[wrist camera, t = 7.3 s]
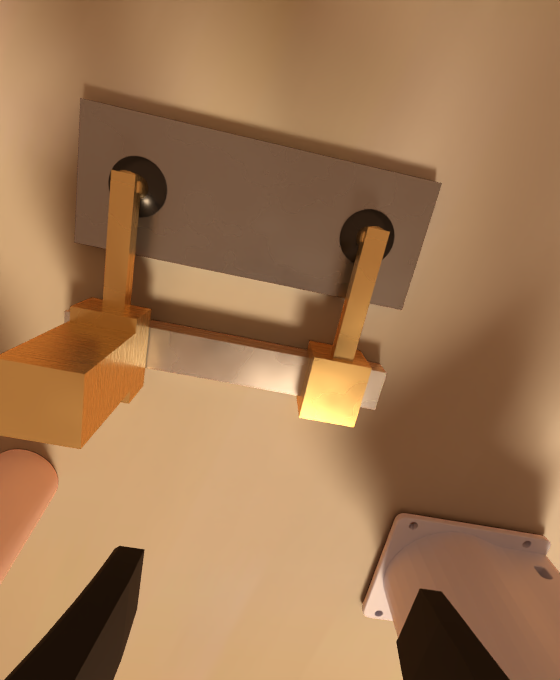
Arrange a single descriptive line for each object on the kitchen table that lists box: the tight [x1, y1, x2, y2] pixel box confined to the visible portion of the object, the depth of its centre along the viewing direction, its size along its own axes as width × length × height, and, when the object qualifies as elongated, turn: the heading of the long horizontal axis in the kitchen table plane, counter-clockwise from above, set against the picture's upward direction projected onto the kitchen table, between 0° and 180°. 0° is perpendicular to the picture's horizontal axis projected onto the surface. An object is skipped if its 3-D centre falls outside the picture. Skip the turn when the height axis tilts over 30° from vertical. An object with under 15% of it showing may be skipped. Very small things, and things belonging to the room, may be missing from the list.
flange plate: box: [75, 98, 442, 310], centre depth 16 cm, size 15×6×1 cm, turn 78°
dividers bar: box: [64, 226, 390, 427], centre depth 17 cm, size 15×9×2 cm, turn 78°
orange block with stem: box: [0, 170, 151, 449], centre depth 14 cm, size 3×9×7 cm, turn 168°
